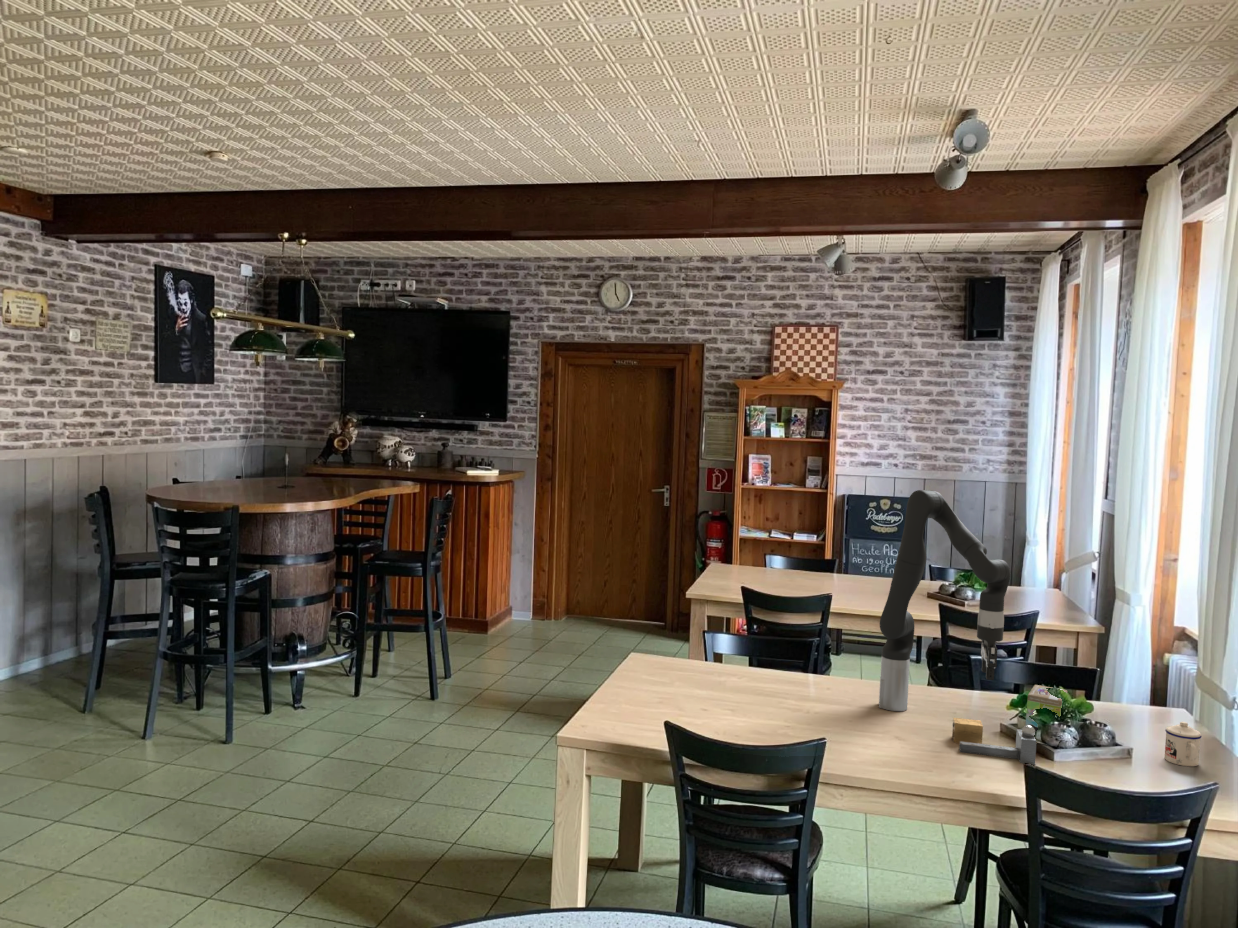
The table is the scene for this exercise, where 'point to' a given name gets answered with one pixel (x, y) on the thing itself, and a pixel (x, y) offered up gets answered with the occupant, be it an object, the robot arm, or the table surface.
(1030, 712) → the tea box
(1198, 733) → the teacup with lid
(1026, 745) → the coupler rail
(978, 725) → the tan wooden block
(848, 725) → the table surface
